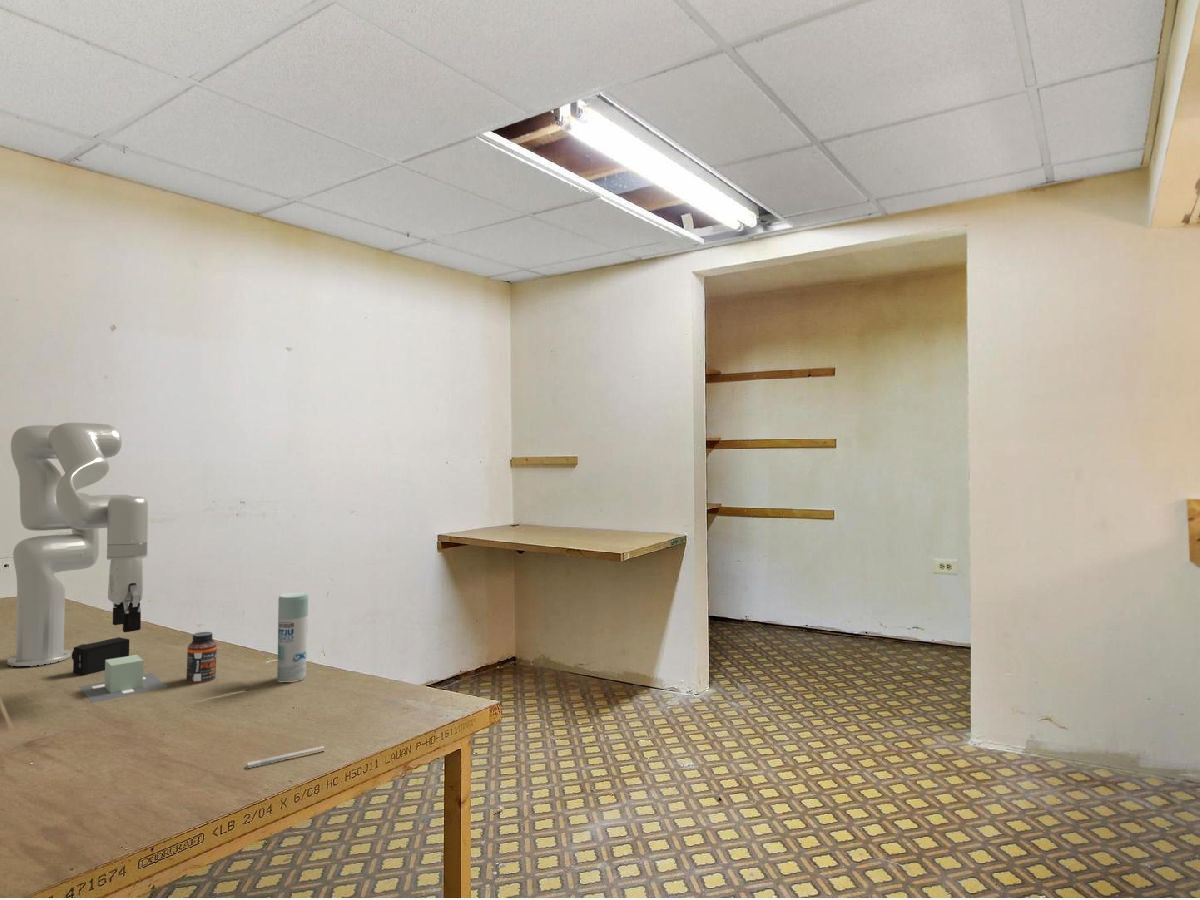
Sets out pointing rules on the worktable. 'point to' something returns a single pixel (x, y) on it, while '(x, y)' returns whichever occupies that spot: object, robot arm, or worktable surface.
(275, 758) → the light grey rod
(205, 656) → the supplement bottle
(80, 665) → the digital camera
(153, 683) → the board
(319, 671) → the worktable surface
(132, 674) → the sage block
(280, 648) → the spray paint can
